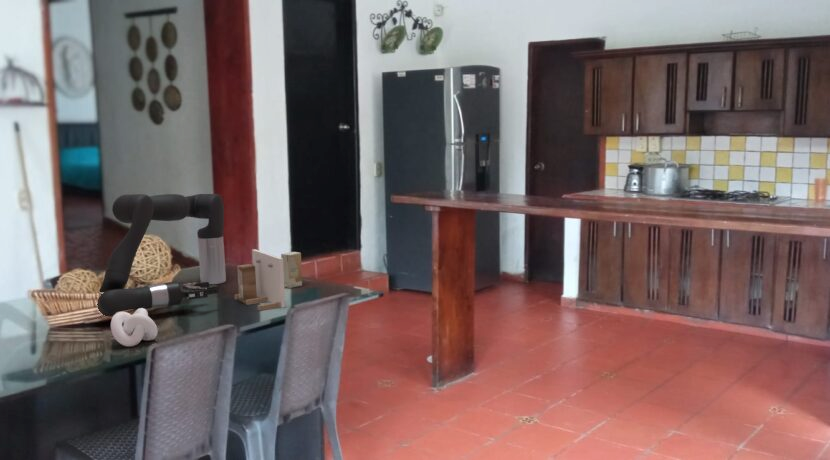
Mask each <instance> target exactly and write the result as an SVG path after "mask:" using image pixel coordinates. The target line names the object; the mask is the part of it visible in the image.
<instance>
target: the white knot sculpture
mask: <svg viewBox="0 0 830 460" xmlns="http://www.w3.org/2000/svg"><path fill="white" fill-rule="evenodd" d="M134 311H135V312H133V313H132V314H131V313H129V312H126V311H120V312H117V313H115V314H114V315H112V316H111V317H112V318H111V321H110V331H111V334H112V336H113V337H114V339H115V340H116V341H117V342H118V344H120V345H121V346H123V347H126V348H131V347H135V346H137V345H138V344H139V343H140V342H141V341H142V340H143V341H146V342H148V341H149V342H150V341H153V340H155V338H157V336H158V332H159V331H158V326H157V325H156V322H155V321H154V320H153V319H152V318H151V317H150V316H149V313H148V310H147V309H144V308H139V309H137V310H134Z"/></svg>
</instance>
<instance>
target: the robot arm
mask: <svg viewBox="0 0 830 460" xmlns="http://www.w3.org/2000/svg"><path fill="white" fill-rule="evenodd" d="M111 209H112V214H113V216H114V218H115V219H116V220H117V221H119V222H121V223H124V224H130V228H129V229H128V231H127V233H126V234H125V236H124V237H123V239H122V240H121V241H120V242H119V243H118V245H116V247H115V248H114V250H113V251H112V252H111V254H110V256H109V259H108V261H107V264H106V265H107V266H106V268H105V272H104V276H103V280H102V284H101V286H100V289H99V291H100V292H104V293H103V294H101V296H100V297H99V299H98V304H97V305H98V309H99V311H100V312H101V313H102V314H103V315H105V316H108V317H113V316H114V315H115V314H116V313H118V312H126V311H130V310H132V311H136V310H137V309H139V308H144V309H146V310H147V309H159V308H166V307H173V306H179V305H181V303H182V300H183V298H185V299H188V300H190V301H191V300H196V299H203V298H208V295H214V294H215V295H216V294H219V291H220V289H219V286H210V285H218V284H223V283H225V282H226V281H227V274H226V261H225V245H224V243H225V242H224V228H225V207H224V201H223V198H222V197H221V195H220V194H218V193H198V194H193V195H188V196H185V195H182V194H179V193H178V194H177V193H169V194H168V193H166V194H158V195H151V196H149V195H147V194H142V193H139V194H134V193H133V194H128V193H127V194H123V195H120V196H118V197H117V198H116V199H115V201H114V202H113V204H112V208H111ZM186 218H195V219H200V220H201V219H202V220H208V224H207V225H206V226H205V227H201V228H199V229H198V230H197V245H198V247H197V248H198V260H199V261H198V262H199V276H200V277H199V278H200V282H193V281H190V282H185V283H179V282H178V281H174V280H173V281H168V282H161V283H154V284H152V285H146V286H139V287H134V288H125V287H126V285H127V284H128V282H129V278H130V274H131V271H132V266H133V263H134V261H135V257H136V254H137V252H138V249H139V247H140V245H141V244H142V241H143V239H144V236H145V235H146V232H147V230H148V228H149V225H150V223H151V221H158V222H160V221H161V222H175V221H181V220H184V219H186ZM105 316H104V317H105Z"/></svg>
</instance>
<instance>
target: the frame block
mask: <svg viewBox="0 0 830 460" xmlns="http://www.w3.org/2000/svg"><path fill="white" fill-rule="evenodd" d="M236 268H237V269H236V271H237V286H238V294H239V299H238V300H239V301H240V302H241V303H243V304H246V300H249V299H255V298H258V297H257V291H256V273H255V266H253V264H251V263H250V264H249V263H247V264H241V265H237V266H236Z"/></svg>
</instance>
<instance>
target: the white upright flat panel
mask: <svg viewBox="0 0 830 460" xmlns="http://www.w3.org/2000/svg"><path fill="white" fill-rule="evenodd" d="M251 255H252V256H251V257H252V265H253V266H255V273H256V291H257V298H255V299H249V300H246V303H245V305H247V306H250V305H255V304H257V311H258V312H260V311H266V310H271V309H278V308H286V296H285V295H286V293H285V287H284V271H283V258H281V257H279V256H276V255H274V254H271V253H269V252H268V253H267V252H264V251H261V250H259V249H255V248H254V249H251ZM234 300H236V301H237V300H239V293H237V294H234ZM267 302H269V303H267ZM262 303H265V304H262ZM259 304H260V305H259Z"/></svg>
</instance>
